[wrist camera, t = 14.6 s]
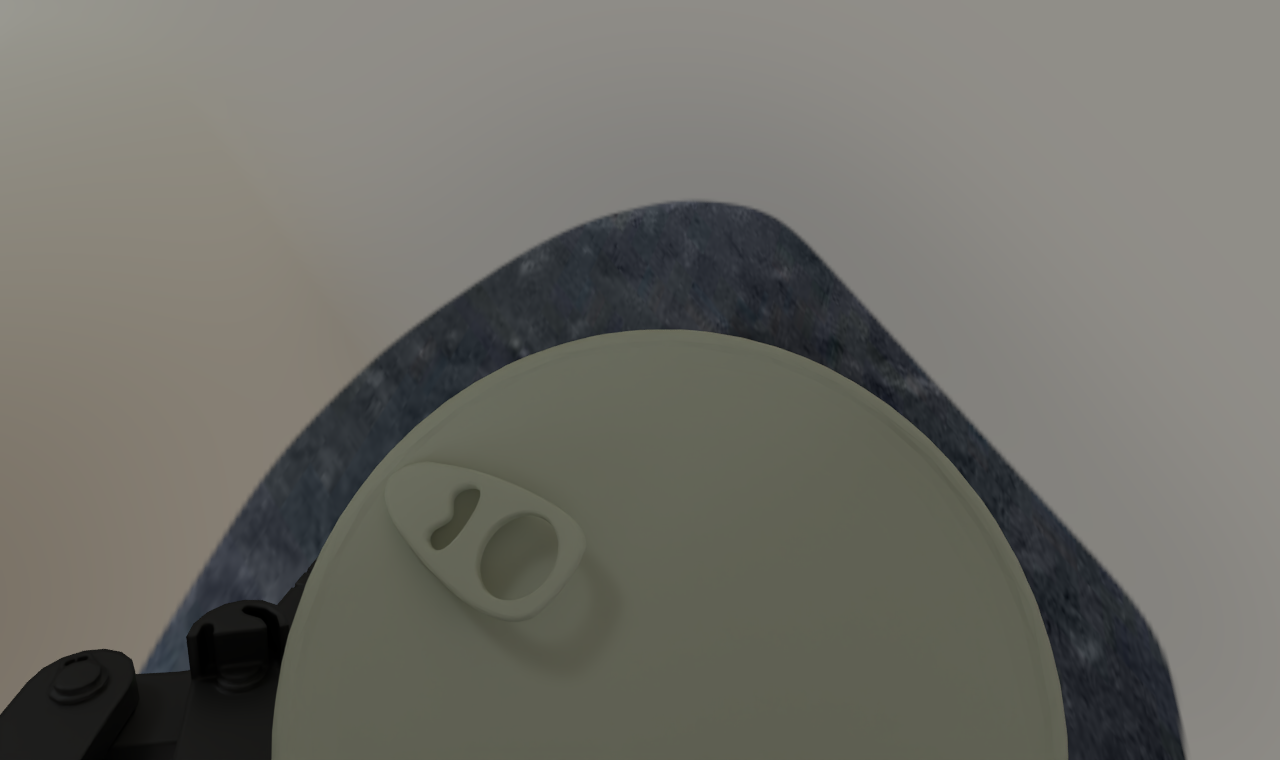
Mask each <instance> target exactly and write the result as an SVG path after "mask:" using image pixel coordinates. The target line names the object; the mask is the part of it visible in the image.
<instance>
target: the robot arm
mask: <svg viewBox="0 0 1280 760" xmlns="http://www.w3.org/2000/svg"><path fill="white" fill-rule="evenodd" d="M318 557H319V556H318ZM317 559H318V558H317ZM317 559H316V560H315V561H314V562H313V563H312V565H311V566H310V567H309V568H308V571H307V573H304V574H303V575H302V576H301V578H300V579H299V580H298V581H297V582H296V583H295V587H294V588H291V589H290V590H289V592H288V593H287V594H286V595H285V596H284V598H283V599H282V600H281V601H280V602H279V603H278V605H275V604H272V603H269V602H266V601H263V600H242V601H237V602H233V603H228V604H224V605H222V606H220V607H218V608H216V609H213V610H211V611H209V612H207V613H206V614H205V615H204V616H202V617H201V618H200V619H199V620H198V621H196V622H195V623H194V624H193V626H192V627H191V629H190V631H189V633H188V635H187V636H186V638H187V647H188V655H189V663H190V670H188V671H181V672H166V673H149V674H135V669H134V666H133V662H132V659H130V658H129V657H127V656H126V655H125V654H123V653H122V652H119V651H113V650H108V649H98V650H88V651H82V652H79V653H76V654H72V655H70V656H66V657H63V658H61V659H59V660H57V661H56V662H54V663H52V664H50V665H48V666H46V667H44V668H43V669H41V670H40V671H39V672H38V673H37V674H36V675H35V676H34V677H33V678H31V679H30V680H29V681H28V682H27V683H26V684H25V686H24V687H23V688H22V689H21V691H20V692H19V693H18V694H17V695H16V697H15V698H14V699H13V700H12V701H11V703H10V704H9V705H8V706H7V707H6V709H5V710H4V711H3V712H2V713H1V715H0V760H272V728H273V718H274V709H275V701H276V694H277V688H278V682H279V676H280V670H281V664H282V659H283V655H284V651H285V647H286V643H287V639H288V634H289V632H290V629H291V626H292V623H293V620H294V617H295V614H296V611H297V608H298V606H299V603H300V600H301V597H302V594H303V591H304V588H305V585H306V583H307V580H308V578H309V576H310V574H311V572H312V570H313V567H314V565H315V563H316V561H317Z"/></svg>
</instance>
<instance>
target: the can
mask: <svg viewBox="0 0 1280 760" xmlns="http://www.w3.org/2000/svg"><path fill="white" fill-rule="evenodd" d="M272 760H1068V743H1067V730H1066V723H1065V716H1064V709H1063V701H1062V694H1061V687H1060V682H1059V677H1058V673H1057V669H1056V665H1055V661H1054V657H1053V653H1052V649H1051V645H1050V642H1049V639H1048V636H1047V633H1046V630H1045V626H1044V623H1043V620H1042V617H1041V614H1040V611H1039V608H1038V605H1037V603H1036V600H1035V598H1034V595H1033V593H1032V591H1031V588H1030V586H1029V584H1028V582H1027V579H1026V577H1025V575H1024V573H1023V571H1022V568H1021V566H1020V564H1019V562H1018V559H1017V558H1016V556H1015V554H1014V552H1013V551H1012V549H1011V547H1010V545H1009V544H1008V542H1007V540H1006V538H1005V536H1004V535H1003V533H1002V531H1001V529H1000V528H999V526H998V524H997V522H996V521H995V519H994V518H993V516H992V515H991V513H990V512H989V510H988V509H987V507H986V506H985V504H984V503H983V501H982V500H981V498H980V497H979V496H978V495H977V493H976V492H975V491H974V490H973V488H972V487H971V486H970V485H969V484H968V482H967V481H966V480H965V479H964V477H963V476H962V475H961V474H960V472H959V471H958V470H957V469H956V467H955V466H954V465H953V464H952V463H951V462H950V460H949V459H948V458H947V457H946V456H945V455H944V454H943V453H942V452H941V451H940V450H939V449H938V448H937V447H936V446H935V445H934V444H933V443H932V442H931V441H930V440H929V439H928V438H927V437H926V436H925V435H924V434H923V433H922V432H921V431H920V430H918V429H917V428H916V427H915V426H914V425H913V424H912V423H910V422H909V421H908V420H907V419H905V418H904V417H903V416H902V415H900V414H899V413H898V412H897V411H895V410H894V409H893V408H892V407H890V406H889V405H888V404H886V403H885V402H884V401H882V400H881V399H879V398H878V397H876V396H875V395H873V394H872V393H870V392H869V391H867V390H866V389H864V388H863V387H861V386H859V385H858V384H856V383H855V382H853V381H851V380H849V379H847V378H846V377H844V376H842V375H840V374H838V373H836V372H835V371H833V370H831V369H829V368H827V367H825V366H823V365H821V364H819V363H816V362H814V361H812V360H810V359H807V358H805V357H803V356H800V355H797V354H794V353H792V352H789V351H786V350H783V349H781V348H778V347H775V346H771V345H767V344H764V343H760V342H756V341H752V340H749V339H745V338H741V337H735V336H729V335H723V334H717V333H712V332H704V331H693V330H637V331H626V332H618V333H610V334H603V335H597V336H592V337H588V338H584V339H580V340H576V341H572V342H569V343H565V344H561V345H558V346H555V347H552V348H549V349H546V350H544V351H541V352H538V353H535V354H532V355H529V356H527V357H524V358H522V359H520V360H517V361H515V362H513V363H511V364H508V365H506V366H504V367H503V368H501V369H499V370H497V371H495V372H493V373H491V374H490V375H488V376H486V377H484V378H482V379H480V380H479V381H477V382H475V383H474V384H472V385H470V386H469V387H467V388H466V389H464V390H463V391H461V392H460V393H458V394H457V395H455V396H454V397H452V398H451V399H449V400H448V401H446V402H445V403H444V404H443V405H441V406H440V407H439V408H438V409H436V410H435V411H434V412H433V413H432V414H430V415H429V416H428V417H427V418H425V419H424V420H423V421H422V422H420V423H419V424H418V425H417V426H416V427H415V428H414V429H413V430H412V431H411V432H410V433H408V434H407V435H406V436H405V437H404V438H403V439H402V440H401V441H400V442H399V443H398V444H397V445H396V446H395V447H394V448H393V449H392V450H391V451H390V452H389V453H388V454H387V456H386V457H385V458H384V459H383V460H382V461H381V462H380V464H379V465H378V466H377V467H376V468H375V469H374V471H373V472H372V473H371V475H370V476H369V477H368V478H367V480H366V481H365V482H364V484H363V485H362V486H361V487H360V489H359V490H358V491H357V493H356V494H355V496H354V497H353V499H352V500H351V502H350V503H349V504H348V506H347V507H346V509H345V510H344V512H343V513H342V515H341V516H340V518H339V520H338V521H337V523H336V525H335V527H334V529H333V530H332V532H331V534H330V536H329V537H328V539H327V541H326V543H325V545H324V546H323V548H322V550H321V552H320V554H319V557H318V559H317V561H316V563H315V565H314V567H313V570H312V572H311V574H310V576H309V578H308V580H307V583H306V585H305V588H304V591H303V594H302V597H301V600H300V603H299V606H298V608H297V611H296V614H295V617H294V620H293V623H292V626H291V629H290V632H289V634H288V639H287V643H286V647H285V651H284V655H283V659H282V664H281V670H280V676H279V682H278V688H277V694H276V701H275V709H274V718H273V728H272Z"/></svg>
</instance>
